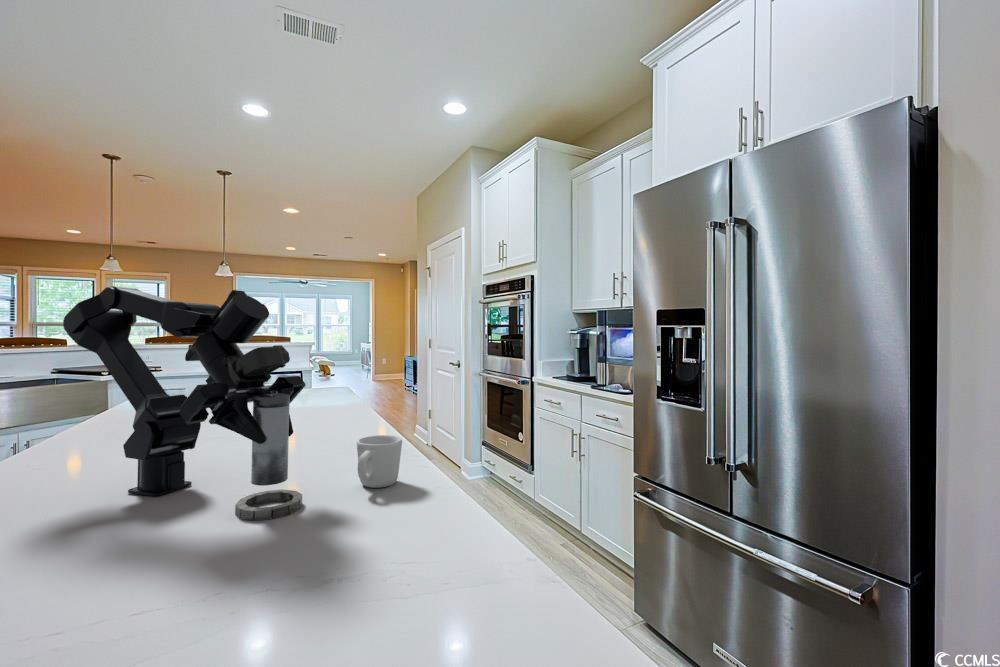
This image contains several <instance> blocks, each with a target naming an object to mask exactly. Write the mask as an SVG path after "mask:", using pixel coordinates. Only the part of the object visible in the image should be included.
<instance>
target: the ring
mask: <svg viewBox="0 0 1000 667" xmlns="http://www.w3.org/2000/svg"><path fill="white" fill-rule="evenodd" d="M269 502H285V503H282V504H278V505H277V504H276V505H274V506H263V507H254V506H256V505H259V504H264V503H269ZM302 505H303V494H302V493H300V492H299V491H298V490H290V489H271V490H264V491H260V492H259V491H258V492H256V493H252V494H248V495H246V496H245V497H242V498H240V499H238V501H237V502H236V503H235V505H234V506H235V508H234V509H235V511H234V512H235V514H234V515H235V516H236V517H237V518H238V519H240V520H245V521H255V522H256V521H257V522H258V521H269V520H274V519H278V518H282V517H283V518H284V517H286V516H289V515H292V514H293V513H295V512H297V511H299V510H300V509H301V508H302Z"/></svg>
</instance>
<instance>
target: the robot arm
mask: <svg viewBox="0 0 1000 667" xmlns="http://www.w3.org/2000/svg"><path fill="white" fill-rule="evenodd" d="M269 316H270V312H269V309H268V307H267V306H266V304H264V303H262V302H260V301H259V300H258V299H256V298H254V297H252V296H250V295H248V294H247V293H246V292H245V291H244V290H240V289H231V292H230V293H229V294H228V295H227V298H226V300H225V301H224V302H223V304H222V305H221V306H219V305H217V304H212V303H211V304H210V303H198V302H187V301H185V302H184V301H176V300H172V299H169V298H165V297H162V296H159V295H156V294H151V293H148V292H144V291H142V290H140V289H138V288H134V287H124V286H123V287H122V286H117V285H115V286H114V285H113V286H112V285H111V286H109V287H105V288H103V290H102V291H101V292H100V293H98V294H97V295H94V296H91V297H88V298H87V299H84V300H82V301H79V302H78V303H76V304H75V305H74V306H73V307H72V308H71V309H70V310H69V311H68V313H66V314H65V316H64V317H63V324H62V325H63V329H64V331H65V332H66V334H67V335H68V336H69V338H71V340H72V341H73V342H74V343H75V344H76V345H77V346H79V347H81V348H84V349H86V350H88V351H90V352H92V353H95V354H96V355H97V356H98V358H99V359H100V361H101V362H102V364H103V365H104V366H105V368H106V369H107V371H108V372H109V374H110V375H111V377H112V378H113V379H114V381H115V383H116V384H117V385H118V387H119V388H120V389H121V391H122V393H123V394H124V395H125V397H126V399H127V400H128V401H129V403H130V404H131V406H132V408H133V409H134V411H135V414H134V419H133V422H132V423H133V424H132V429H133V432H132V433H131V434H130V436H129V437H128V438H127V440H126V441H125V442H124V443H123V452H124V457H125V458H127V459H132V460H133V459H134V460H137V483H136V484H137V486H136V487H132V488H128V489H127V493H128V494H134V495H135V494H136V495H141V496H143V495H144V496H151V497H160V496H162V495H164V494H167V493H170V492H174V491H176V490H181V489H183V488H186V487H188V486H192V484H193V483H192V481H189V480H186V479H185V478H186V472H185V471H186V462H185V452H184V451H188V450H193V449H196V448H195V447H196V444H197V441H198V437H199V434H200V430H201V424H202V423H204V422H205V421H206V420H208V416H209V414H210V413H209V411H208V410H207V409H208V408H209V409H210V411H211V414H212V416H211V417H210V418H209V420H208V422H209V424H210V425H217V426H219V427H222V428H225V429H227V430H230V431H231V432H234V433H237V434H238V435H240V436H242V437H245V438H247V439H249V440H250V441H251V442H252V441H254V442H256V443H258V444H262V443H263V442H264V441H265V436H264V434H263V432H262V430H261V429H260V427H259V425H258V424H257V422H256V421H255V419H254V417H253V413H252V412H251V411H250V409H249V406H248V405H249V404H251V403H253V396H255V395H260V394H289V395H290V402H289V405H290V404H291V403H292V402H293V401H294V400H295V399H296V397H297V396H298V395H299V394H300V393H301V392H302V390H303V389H305V387H306V382H304V380H303V378H302V377H301V376H300V375H285V376H278V377H277V378H276V380H274V382H273V383H272V384H271V385H270V386H269V385H265V383H266V382H267V383H268V381H270V380H271V378H272V376H271V373H273V372H274V371H277V370H278V369H282V368H284V367H286V366H287V365H286V364H288V363H289V362H290V360H291V357H290V352H289V351H288V350H286V348H285V347H284V346H283V345H282V344H281V345H280V344H279V345H277V344H276V345H275V344H274V345H272V346H260V347H256V348H253V349H251V350H250V351H248V352H246V353H245V354H244V353H243V351H242V349H240V347H239V345H238V344H245V343H249V341H250V340H251V339H252V338H253V336H254V335H255V334H256V333H257V331H259V329H260V328H261V326H262V325H263V324H264V323H265V321H266V320H267V319H268V318H269ZM137 317H141V318H144V319H147V320H150V321H153V322H156V323H158V324H160V325H161V329H162V330H163V331H165V333H166V332H167V333H169V334H170V335H171V336H172V337H173V336H174V337H175V338H196V339H195V340H194V342H193V343H192V344H189V345H188V350H187V352H186V353H185V355H184V356H185V358H184V360H185V362H200V364H201V365H202V366H203V368H204V370H205V371H206V372H207V374H208V375H209V376H208V377H207V378H206V380H205V382H206V383H203V384H197V385H196V386H195V387H194V389H193V390H192V391H191V392H190V394H189V395H188V396H186V395H185V394H175V395H170V394H168V393H167V392H166V391H165V389H164V388H163V386H162V385H161V383H159V381H158V379H157V378H156V377H155V375H154V374H153V373H152V370H151V369H150V368H149V366H148V365H147V363H146V362H145V361H144V360H143V358H142V357H141V356H140V354H139V353H138V352H137V350H136V349H135V347H134V346H133V344H132V343H131V342H130V339H129V338H130V334H131V331H132V326H134V324H136V323H137ZM293 434H294V429H293V424H292V419H291V415H290V413H289V437H291V436H292V435H293Z"/></svg>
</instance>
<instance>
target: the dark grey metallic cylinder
mask: <svg viewBox="0 0 1000 667" xmlns="http://www.w3.org/2000/svg"><path fill="white" fill-rule="evenodd" d="M289 402H290V395H289V394H260V395H255V396H253V402H252V416H253V417H254V419H255V421H256V422H257V424H258V425H259V427H260V429H261V430H262V432H263V434H264V436H265V441H264V442H263V443H262V444H258V443H256V442H254V441H252V440H251V471H250V472H251V474H250V475H251V477H250V478H251V479H250V483H251V484H252V485H254V486H272V485H279V484H281V483H284V482H286V481H287V480H288V478H289V476H288V474H289V473H288V472H289V442H290V441H289V438H290V436H289V414H290V404H289Z"/></svg>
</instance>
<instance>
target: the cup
mask: <svg viewBox="0 0 1000 667" xmlns="http://www.w3.org/2000/svg"><path fill="white" fill-rule="evenodd" d="M402 447H403V439H402V438H401V437H400V436H396V435H389V434H383V435H381V434H380V435H378V434H377V435H369V436H364V437H361V438H359V439H358V440H357V441H356V449H357V450H356V451H357V461H358V462H357V475H358V477H359V480H360V483H361V485H363V486H364V487H367V488H373V489H374V488H377V489H378V488H379V489H380V488H385V487H390V486H392V485H393V484H395V483H396V482H397V481H398V478H399V471H400V464H401V455H402V454H401V453H402Z"/></svg>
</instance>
